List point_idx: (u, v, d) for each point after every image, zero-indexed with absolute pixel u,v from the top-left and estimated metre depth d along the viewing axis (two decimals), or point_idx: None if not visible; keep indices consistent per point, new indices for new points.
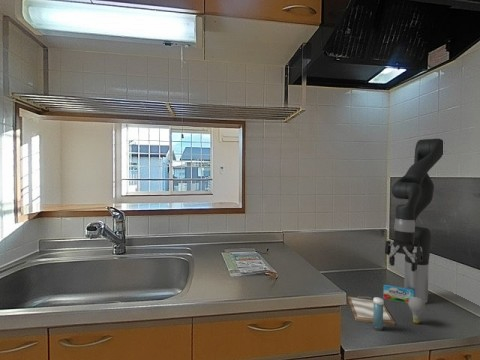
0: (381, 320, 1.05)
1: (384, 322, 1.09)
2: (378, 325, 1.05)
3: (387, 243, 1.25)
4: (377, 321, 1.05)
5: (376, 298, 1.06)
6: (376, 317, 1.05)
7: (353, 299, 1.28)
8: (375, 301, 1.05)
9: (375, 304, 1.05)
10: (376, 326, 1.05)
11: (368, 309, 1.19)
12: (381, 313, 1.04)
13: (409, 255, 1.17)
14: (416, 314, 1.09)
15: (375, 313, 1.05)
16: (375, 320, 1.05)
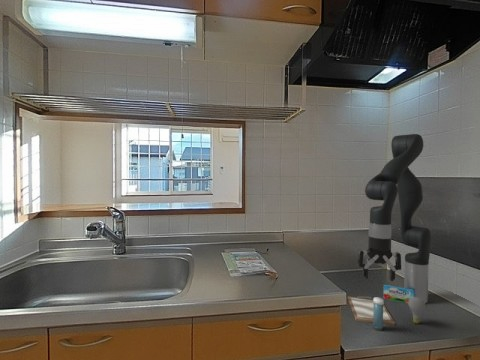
0: (381, 320, 1.05)
1: (384, 322, 1.09)
2: (378, 325, 1.05)
3: None
4: (377, 321, 1.05)
5: (376, 298, 1.06)
6: (376, 317, 1.05)
7: (353, 299, 1.28)
8: (375, 301, 1.05)
9: (375, 304, 1.05)
10: (376, 326, 1.05)
11: (368, 309, 1.19)
12: (381, 313, 1.04)
13: None
14: (416, 314, 1.09)
15: (375, 313, 1.05)
16: (375, 320, 1.05)
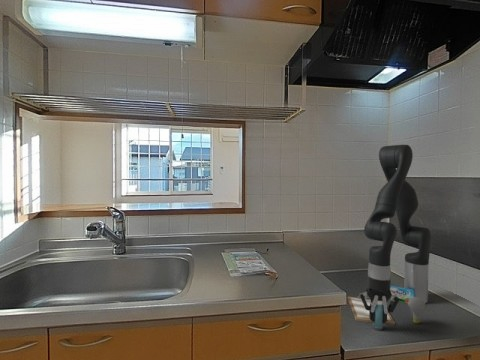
0: (381, 320, 1.05)
1: None
2: (378, 325, 1.05)
3: None
4: (376, 321, 1.05)
5: None
6: (376, 317, 1.05)
7: (353, 299, 1.28)
8: None
9: None
10: (376, 326, 1.05)
11: None
12: (381, 313, 1.04)
13: None
14: (416, 314, 1.09)
15: (375, 313, 1.05)
16: (375, 320, 1.05)
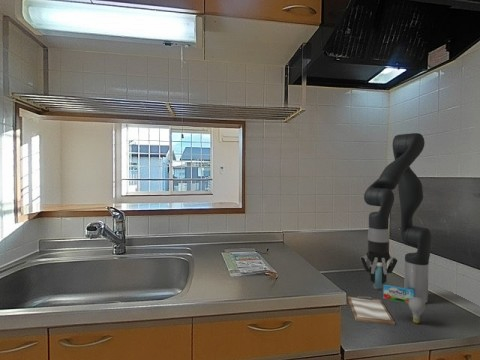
0: (381, 281, 1.11)
1: (384, 322, 1.09)
2: (378, 285, 1.11)
3: None
4: (376, 282, 1.11)
5: None
6: (376, 278, 1.12)
7: (353, 299, 1.28)
8: None
9: None
10: (376, 287, 1.12)
11: (368, 309, 1.19)
12: (381, 274, 1.11)
13: None
14: (416, 314, 1.09)
15: (375, 274, 1.12)
16: (375, 281, 1.12)
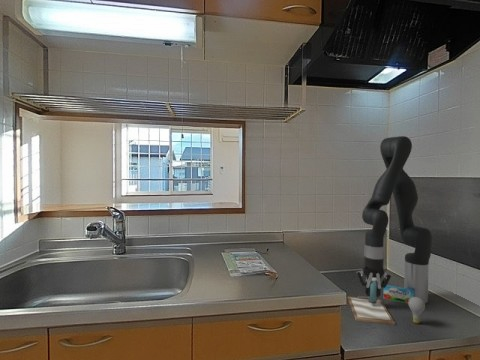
0: (375, 294, 1.21)
1: (384, 322, 1.09)
2: (372, 299, 1.21)
3: None
4: (371, 295, 1.21)
5: None
6: (370, 292, 1.21)
7: (353, 299, 1.28)
8: None
9: None
10: (370, 300, 1.21)
11: (368, 309, 1.19)
12: (375, 288, 1.21)
13: None
14: (416, 314, 1.09)
15: (370, 288, 1.21)
16: (370, 294, 1.21)
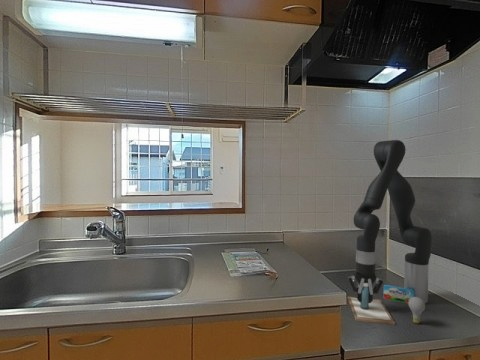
0: (367, 300, 1.18)
1: (384, 322, 1.09)
2: (364, 304, 1.18)
3: None
4: (363, 301, 1.19)
5: None
6: (362, 298, 1.19)
7: (353, 299, 1.28)
8: None
9: None
10: (362, 306, 1.19)
11: (368, 309, 1.19)
12: (367, 294, 1.18)
13: None
14: (416, 314, 1.09)
15: (362, 294, 1.19)
16: (362, 300, 1.19)
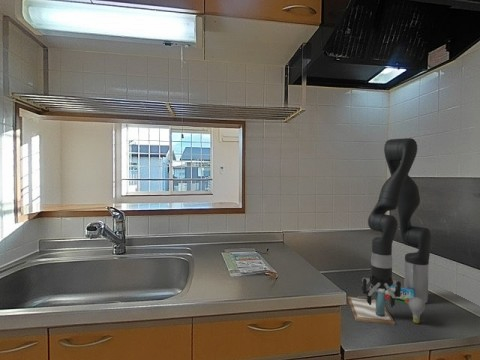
0: (383, 307, 1.13)
1: (384, 322, 1.09)
2: (380, 311, 1.13)
3: None
4: (379, 308, 1.13)
5: None
6: (378, 304, 1.13)
7: (353, 299, 1.28)
8: None
9: (377, 292, 1.13)
10: (378, 313, 1.13)
11: (368, 309, 1.19)
12: (383, 300, 1.13)
13: None
14: (416, 314, 1.09)
15: (377, 300, 1.13)
16: (377, 307, 1.13)
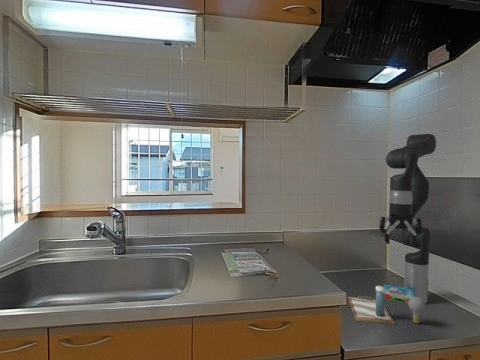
0: (383, 307, 1.13)
1: (384, 322, 1.09)
2: (380, 311, 1.13)
3: None
4: (379, 308, 1.13)
5: (378, 286, 1.15)
6: (378, 304, 1.13)
7: (353, 299, 1.28)
8: (377, 289, 1.13)
9: (377, 292, 1.13)
10: (378, 313, 1.13)
11: (368, 309, 1.19)
12: (383, 300, 1.13)
13: None
14: (416, 314, 1.09)
15: (377, 300, 1.13)
16: (377, 307, 1.13)
